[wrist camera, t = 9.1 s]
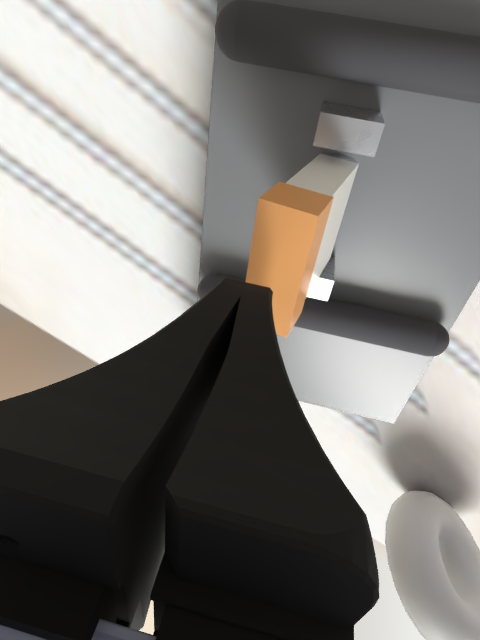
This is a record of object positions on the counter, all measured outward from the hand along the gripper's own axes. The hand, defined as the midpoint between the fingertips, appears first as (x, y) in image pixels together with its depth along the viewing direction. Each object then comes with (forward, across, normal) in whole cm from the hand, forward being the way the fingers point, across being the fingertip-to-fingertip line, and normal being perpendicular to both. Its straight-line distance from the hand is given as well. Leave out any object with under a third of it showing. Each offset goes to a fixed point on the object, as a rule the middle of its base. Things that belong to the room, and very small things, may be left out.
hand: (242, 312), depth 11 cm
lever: (+6, -2, -1) cm, 7 cm away
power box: (+10, -3, +1) cm, 11 cm away
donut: (+11, -16, +22) cm, 29 cm away
